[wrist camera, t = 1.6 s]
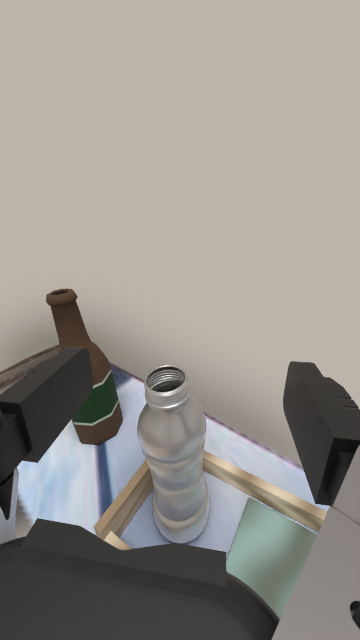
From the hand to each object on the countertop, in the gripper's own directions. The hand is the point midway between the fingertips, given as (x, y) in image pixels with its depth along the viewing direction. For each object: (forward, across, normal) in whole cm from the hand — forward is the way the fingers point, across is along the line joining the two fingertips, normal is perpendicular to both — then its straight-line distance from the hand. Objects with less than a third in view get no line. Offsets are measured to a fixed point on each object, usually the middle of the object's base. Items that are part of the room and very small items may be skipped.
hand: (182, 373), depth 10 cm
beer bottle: (+22, +17, +26) cm, 38 cm away
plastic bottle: (+10, +2, +26) cm, 28 cm away
